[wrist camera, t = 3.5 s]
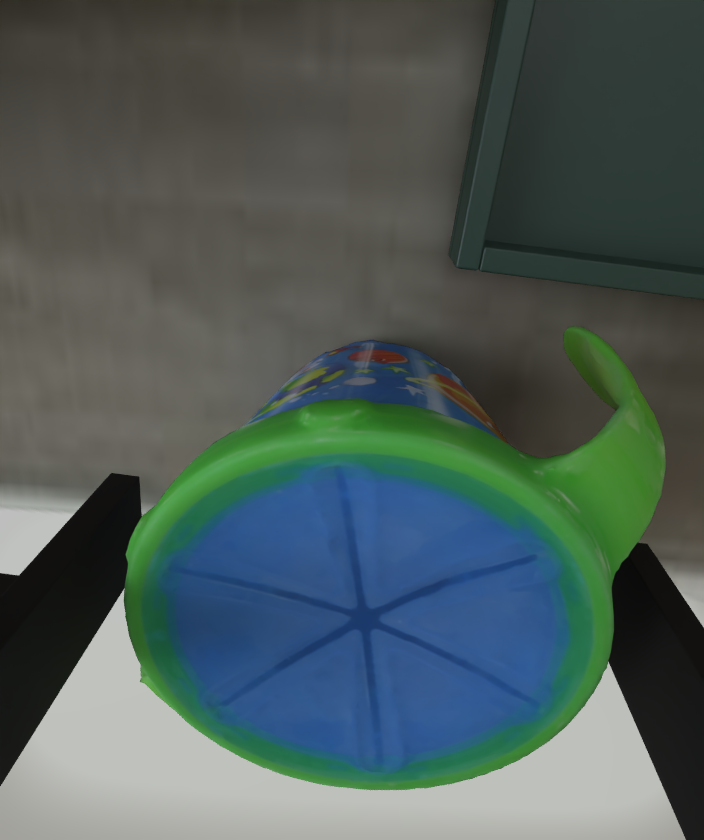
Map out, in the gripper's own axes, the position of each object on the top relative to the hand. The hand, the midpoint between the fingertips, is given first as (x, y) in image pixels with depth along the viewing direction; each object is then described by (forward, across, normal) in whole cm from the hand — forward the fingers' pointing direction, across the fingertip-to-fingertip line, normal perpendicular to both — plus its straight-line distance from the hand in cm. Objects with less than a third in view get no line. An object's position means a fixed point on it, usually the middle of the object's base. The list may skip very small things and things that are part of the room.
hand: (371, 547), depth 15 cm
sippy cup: (+7, 0, 0) cm, 7 cm away
